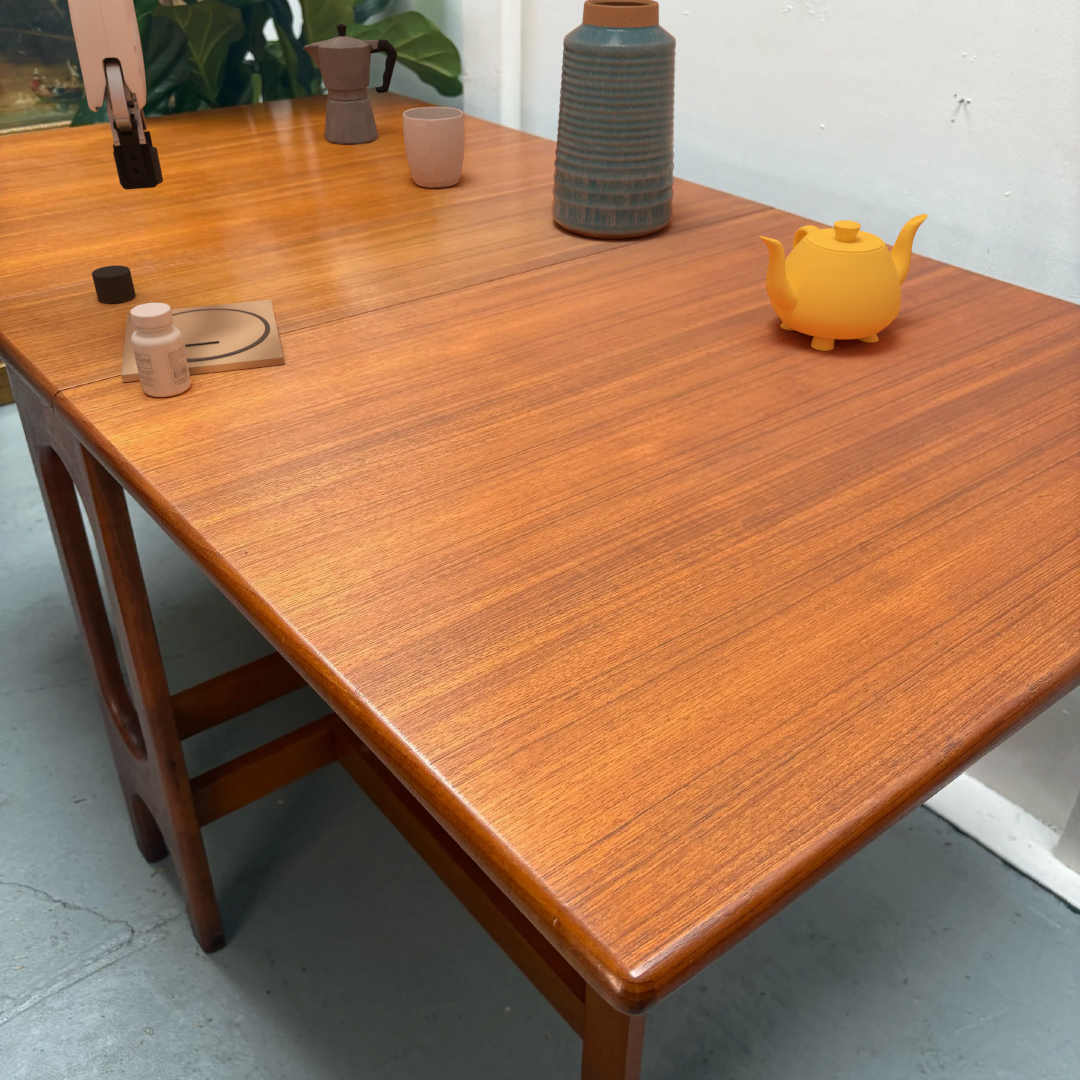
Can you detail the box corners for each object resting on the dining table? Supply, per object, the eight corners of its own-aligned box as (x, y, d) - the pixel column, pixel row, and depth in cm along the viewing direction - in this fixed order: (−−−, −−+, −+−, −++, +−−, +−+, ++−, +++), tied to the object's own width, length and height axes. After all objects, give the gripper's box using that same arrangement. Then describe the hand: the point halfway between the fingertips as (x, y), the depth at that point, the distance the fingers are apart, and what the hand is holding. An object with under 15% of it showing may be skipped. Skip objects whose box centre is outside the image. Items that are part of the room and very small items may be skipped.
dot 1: (97, 305, 112) (90, 279, 111) (99, 292, 115) (92, 267, 114) (135, 301, 113) (129, 275, 111) (136, 289, 116) (130, 263, 115)
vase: (545, 239, 132) (547, 8, 117) (557, 203, 146) (560, -8, 131) (671, 244, 131) (689, 11, 116) (672, 208, 144) (688, -5, 129)
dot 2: (119, 189, 97) (112, 156, 95) (120, 178, 100) (113, 146, 98) (163, 186, 98) (156, 153, 96) (163, 175, 101) (157, 144, 99)
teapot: (857, 293, 117) (877, 191, 110) (946, 341, 105) (973, 230, 99) (705, 317, 110) (716, 210, 104) (782, 371, 99) (800, 255, 92)
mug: (475, 186, 153) (473, 115, 147) (419, 193, 149) (414, 121, 144) (443, 167, 162) (440, 99, 156) (390, 173, 159) (385, 104, 153)
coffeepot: (310, 145, 173) (297, 28, 163) (316, 132, 181) (303, 20, 171) (401, 144, 174) (394, 27, 164) (403, 131, 182) (395, 19, 172)
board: (122, 382, 96) (120, 372, 95) (128, 320, 109) (126, 310, 108) (284, 364, 100) (283, 354, 99) (272, 306, 112) (270, 296, 112)
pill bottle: (191, 375, 97) (175, 297, 93) (192, 395, 94) (176, 315, 90) (142, 381, 96) (124, 302, 92) (142, 401, 93) (123, 320, 88)
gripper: (56, -42, 94) (103, 163, 105) (39, -24, 81) (95, 208, 91) (141, -44, 96) (180, 158, 106) (138, -27, 83) (182, 201, 93)
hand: (140, 179), depth 99 cm, fingers closed on dot 2, 4 cm apart
